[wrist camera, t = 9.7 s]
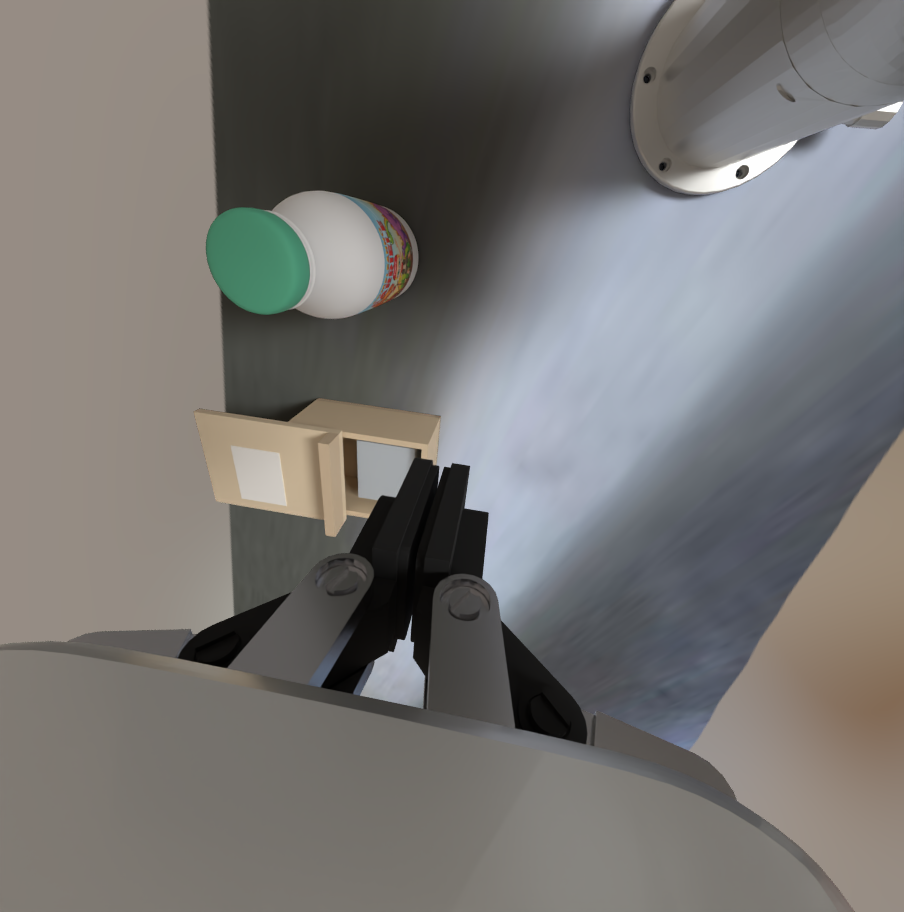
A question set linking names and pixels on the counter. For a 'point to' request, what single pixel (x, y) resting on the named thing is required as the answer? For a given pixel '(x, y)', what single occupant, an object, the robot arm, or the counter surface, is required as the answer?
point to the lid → (275, 465)
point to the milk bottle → (312, 255)
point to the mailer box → (374, 446)
